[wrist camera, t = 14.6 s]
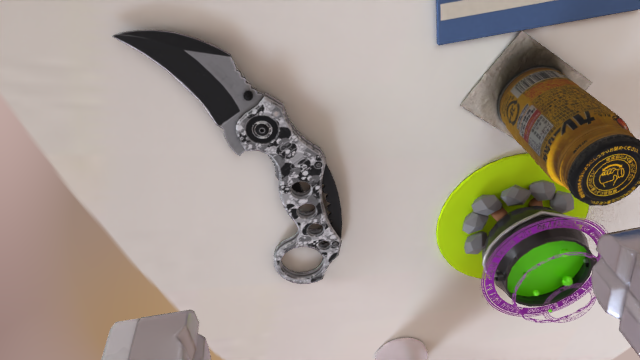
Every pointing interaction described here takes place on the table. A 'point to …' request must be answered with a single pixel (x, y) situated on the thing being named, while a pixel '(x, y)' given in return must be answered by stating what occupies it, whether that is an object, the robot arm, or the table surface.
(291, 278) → the knife
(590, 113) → the condiment
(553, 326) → the table surface
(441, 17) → the blue board
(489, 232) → the toy cauldron
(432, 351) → the table surface
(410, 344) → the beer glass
